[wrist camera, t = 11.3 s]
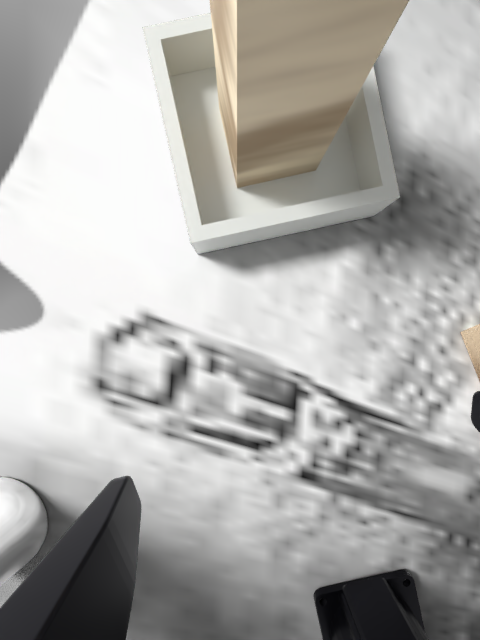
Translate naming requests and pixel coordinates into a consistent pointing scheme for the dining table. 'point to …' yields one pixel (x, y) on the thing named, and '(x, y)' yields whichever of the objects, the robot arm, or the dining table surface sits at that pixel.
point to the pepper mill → (292, 76)
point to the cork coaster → (473, 346)
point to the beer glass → (19, 526)
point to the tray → (215, 164)
